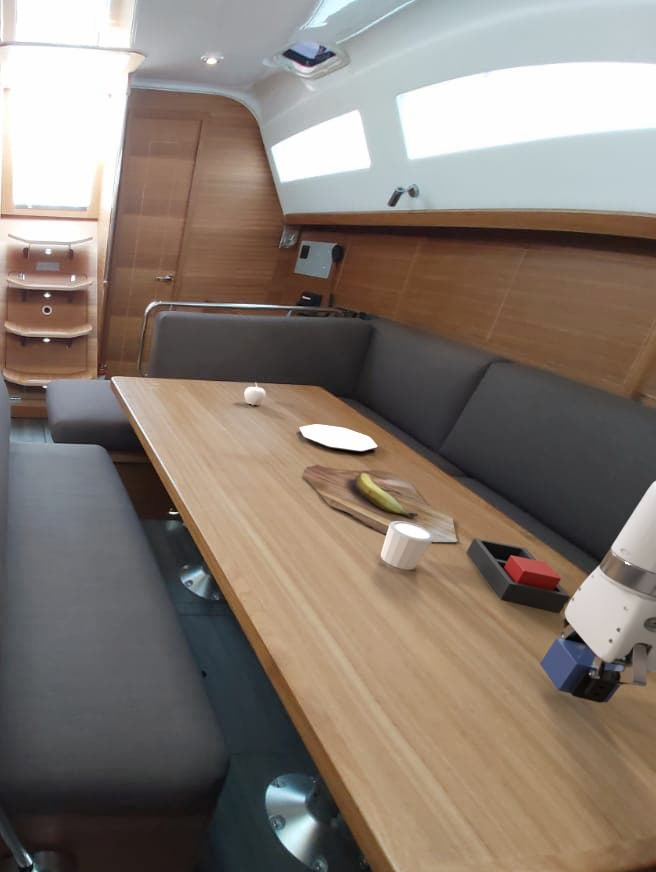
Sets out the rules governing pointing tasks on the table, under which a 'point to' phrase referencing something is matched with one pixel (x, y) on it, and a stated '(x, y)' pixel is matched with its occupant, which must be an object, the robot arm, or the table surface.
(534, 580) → the red block
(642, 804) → the table surface
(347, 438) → the plate
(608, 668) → the blue block
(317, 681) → the table surface
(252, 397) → the plain white apple
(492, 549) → the tray
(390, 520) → the cutting board
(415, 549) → the white cup
